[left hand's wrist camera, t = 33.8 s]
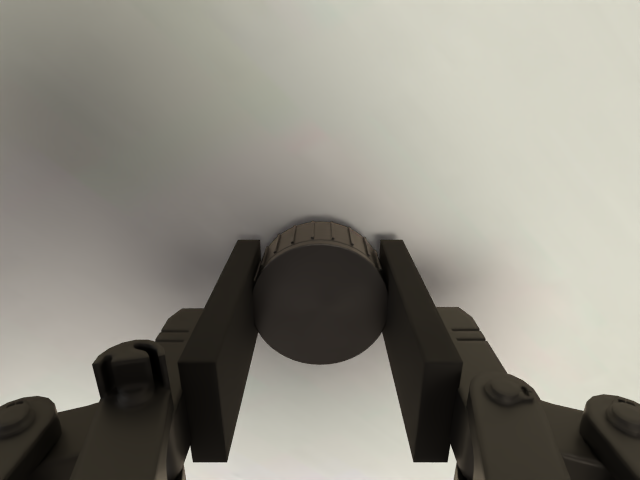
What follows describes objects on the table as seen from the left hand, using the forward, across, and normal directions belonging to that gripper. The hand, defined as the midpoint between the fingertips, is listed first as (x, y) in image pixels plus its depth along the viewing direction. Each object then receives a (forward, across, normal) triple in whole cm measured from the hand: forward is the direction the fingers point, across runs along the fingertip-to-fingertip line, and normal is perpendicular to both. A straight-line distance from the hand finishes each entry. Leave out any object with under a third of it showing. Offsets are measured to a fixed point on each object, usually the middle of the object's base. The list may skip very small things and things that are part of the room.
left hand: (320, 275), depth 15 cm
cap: (-2, 0, 0) cm, 2 cm away
